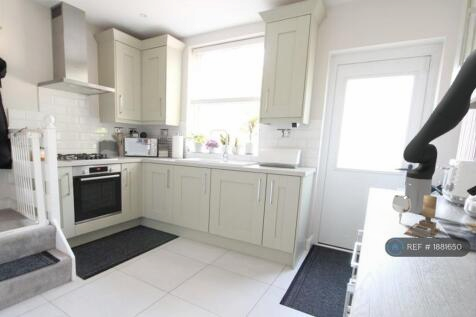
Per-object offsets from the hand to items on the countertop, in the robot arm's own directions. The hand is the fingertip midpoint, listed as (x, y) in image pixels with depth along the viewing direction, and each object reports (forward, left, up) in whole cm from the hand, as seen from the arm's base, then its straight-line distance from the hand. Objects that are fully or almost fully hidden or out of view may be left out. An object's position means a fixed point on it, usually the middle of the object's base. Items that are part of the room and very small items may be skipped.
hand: (473, 192), depth 70 cm
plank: (+3, -11, -17) cm, 21 cm away
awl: (-2, -11, -16) cm, 19 cm away
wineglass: (0, -18, -17) cm, 26 cm away
